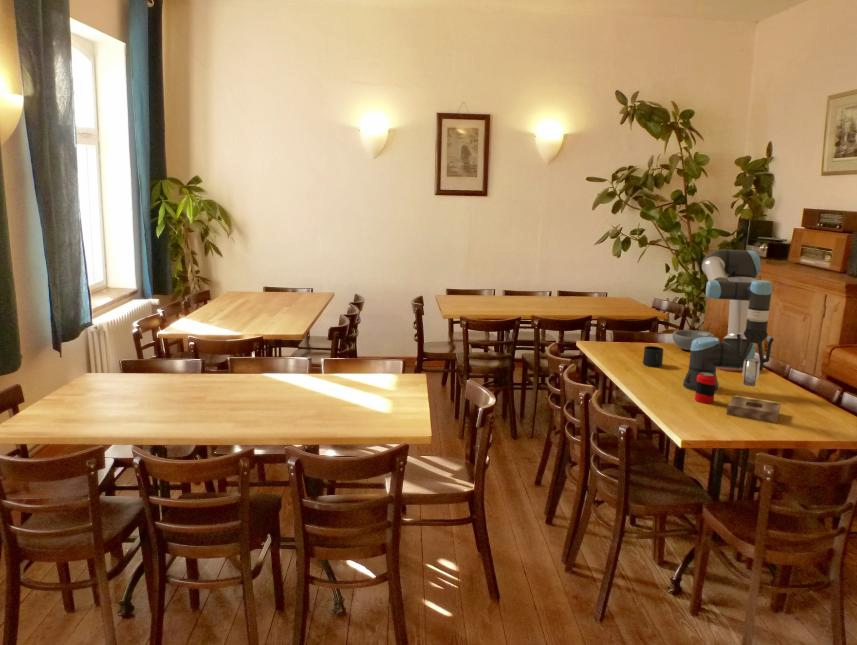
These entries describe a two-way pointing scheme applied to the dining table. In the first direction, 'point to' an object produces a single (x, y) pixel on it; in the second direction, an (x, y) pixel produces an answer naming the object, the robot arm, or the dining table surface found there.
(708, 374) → the soda can
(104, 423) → the dining table surface
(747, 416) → the jig
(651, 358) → the mug
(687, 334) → the bowl
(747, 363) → the bushing
